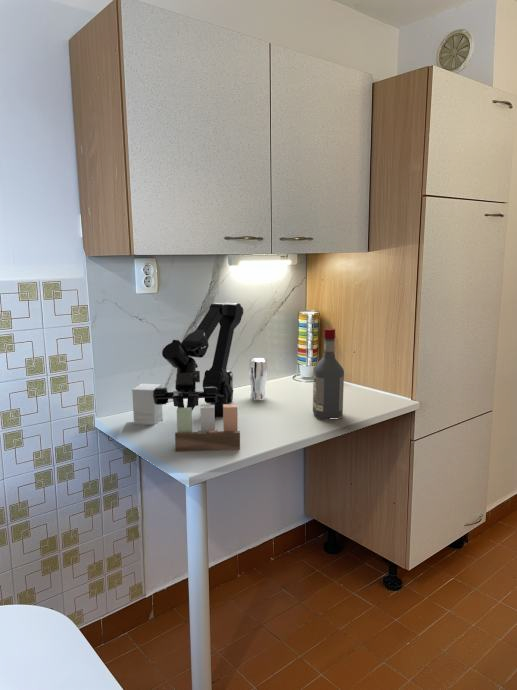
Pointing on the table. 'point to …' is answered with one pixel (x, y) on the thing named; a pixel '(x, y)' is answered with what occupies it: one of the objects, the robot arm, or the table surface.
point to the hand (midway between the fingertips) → (185, 421)
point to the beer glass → (258, 378)
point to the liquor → (328, 382)
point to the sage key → (184, 419)
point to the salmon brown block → (230, 417)
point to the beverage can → (230, 383)
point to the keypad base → (207, 440)
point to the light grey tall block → (207, 417)
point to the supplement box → (146, 405)
